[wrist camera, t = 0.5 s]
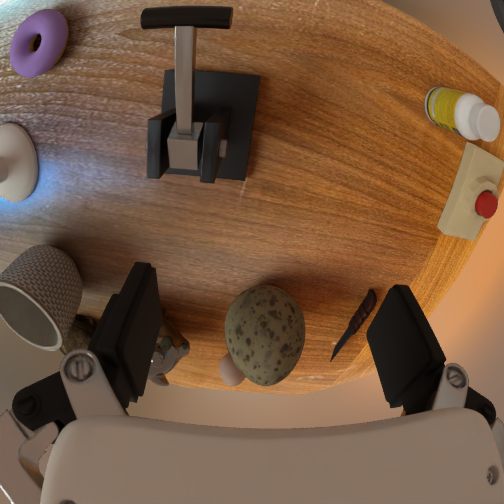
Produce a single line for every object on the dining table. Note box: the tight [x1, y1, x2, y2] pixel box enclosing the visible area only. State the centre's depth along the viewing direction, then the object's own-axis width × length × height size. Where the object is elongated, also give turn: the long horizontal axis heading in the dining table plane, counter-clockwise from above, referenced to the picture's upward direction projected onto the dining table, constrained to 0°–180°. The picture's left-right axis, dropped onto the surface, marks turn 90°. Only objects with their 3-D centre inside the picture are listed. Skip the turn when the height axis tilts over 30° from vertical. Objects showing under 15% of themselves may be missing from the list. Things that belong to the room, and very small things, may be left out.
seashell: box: [59, 316, 97, 356], centre depth 46 cm, size 16×9×7 cm, turn 90°
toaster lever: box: [140, 6, 233, 170], centre depth 16 cm, size 12×5×2 cm, turn 172°
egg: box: [219, 353, 245, 386], centre depth 49 cm, size 5×5×7 cm
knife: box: [330, 289, 377, 362], centre depth 46 cm, size 17×1×3 cm, turn 165°
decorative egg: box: [225, 285, 305, 386], centre depth 37 cm, size 11×11×15 cm
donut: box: [10, 9, 69, 78], centre depth 19 cm, size 10×9×5 cm
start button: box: [475, 191, 498, 219], centre depth 29 cm, size 4×4×2 cm
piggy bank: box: [147, 307, 190, 386], centre depth 41 cm, size 11×15×12 cm
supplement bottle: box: [425, 87, 500, 142], centre depth 22 cm, size 5×5×10 cm
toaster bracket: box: [146, 70, 260, 183], centre depth 23 cm, size 12×10×13 cm
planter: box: [0, 245, 83, 351], centre depth 34 cm, size 14×14×13 cm
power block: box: [437, 141, 504, 241], centre depth 31 cm, size 14×8×4 cm, turn 172°
